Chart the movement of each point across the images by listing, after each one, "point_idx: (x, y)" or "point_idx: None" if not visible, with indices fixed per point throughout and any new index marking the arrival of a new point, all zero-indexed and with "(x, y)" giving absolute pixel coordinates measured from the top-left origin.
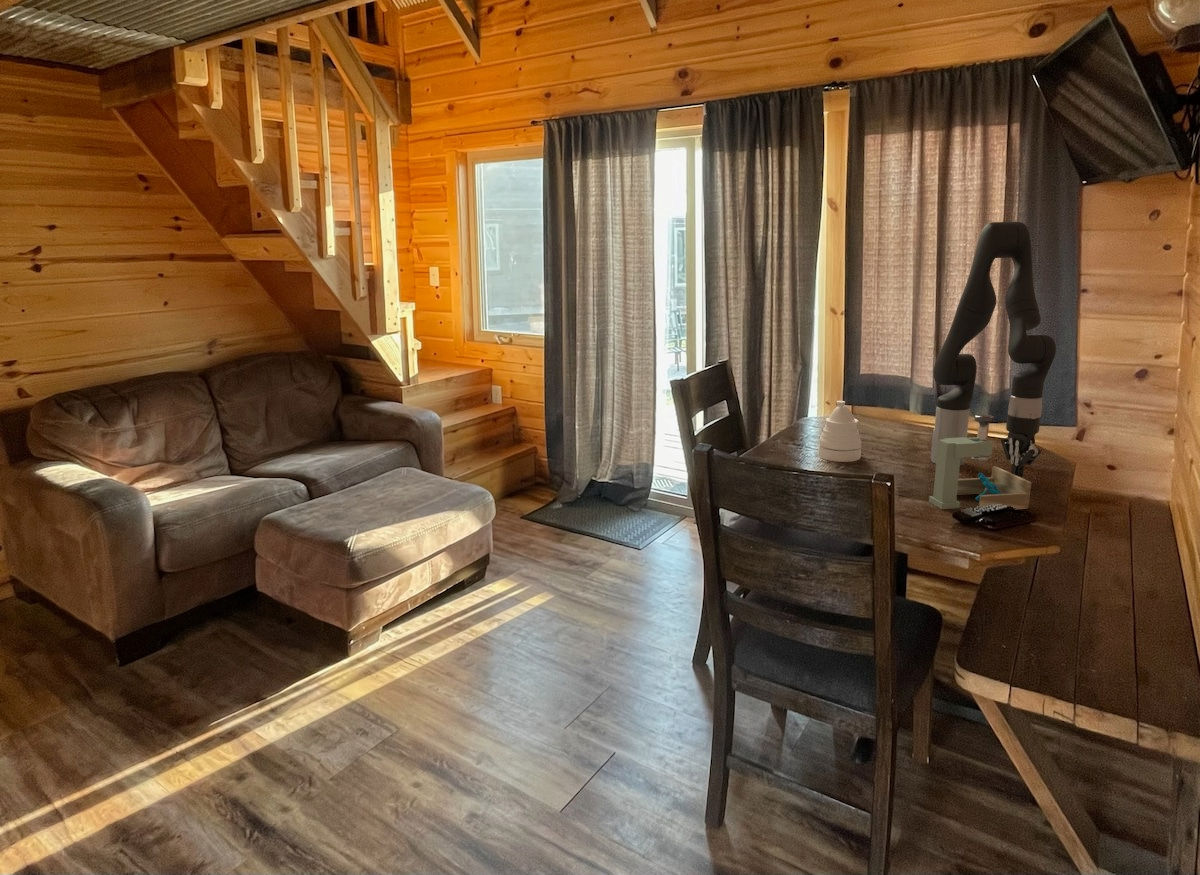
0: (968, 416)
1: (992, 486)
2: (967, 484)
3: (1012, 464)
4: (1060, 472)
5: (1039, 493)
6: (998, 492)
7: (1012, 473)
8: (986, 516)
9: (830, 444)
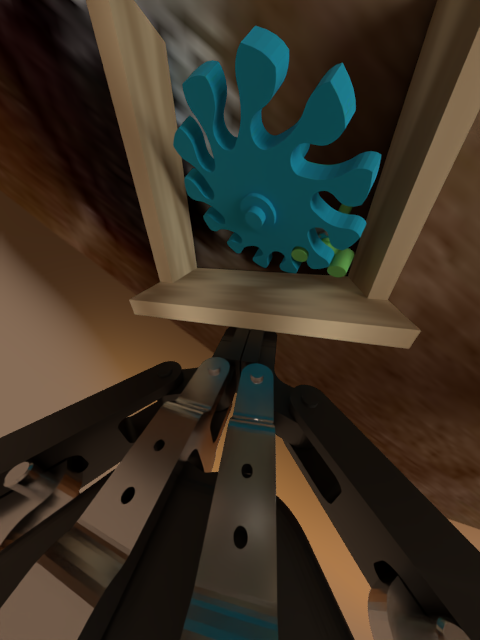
0: None
1: (248, 194)
2: (424, 118)
3: (255, 363)
4: None
5: (294, 378)
6: (254, 234)
7: (255, 330)
8: None
9: None
